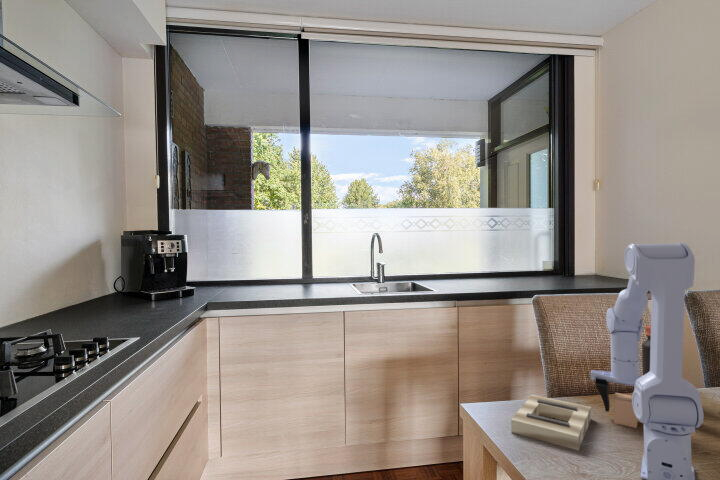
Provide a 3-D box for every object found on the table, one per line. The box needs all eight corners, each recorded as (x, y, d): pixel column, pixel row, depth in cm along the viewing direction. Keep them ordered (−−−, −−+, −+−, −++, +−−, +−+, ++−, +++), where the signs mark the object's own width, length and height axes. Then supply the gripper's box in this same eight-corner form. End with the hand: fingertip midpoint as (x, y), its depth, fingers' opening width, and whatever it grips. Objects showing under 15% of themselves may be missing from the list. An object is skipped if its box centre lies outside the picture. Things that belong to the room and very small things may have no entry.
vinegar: (674, 407, 104) (672, 331, 104) (642, 401, 108) (641, 328, 108) (673, 398, 110) (672, 326, 110) (643, 393, 114) (641, 323, 114)
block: (636, 428, 94) (636, 402, 94) (614, 423, 96) (613, 398, 96) (637, 421, 97) (637, 396, 97) (616, 416, 100) (615, 392, 100)
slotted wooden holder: (578, 450, 85) (578, 434, 85) (511, 432, 93) (511, 417, 93) (591, 418, 99) (591, 404, 99) (532, 405, 107) (531, 392, 107)
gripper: (662, 359, 96) (663, 415, 96) (592, 350, 104) (594, 401, 104) (661, 367, 90) (663, 426, 90) (588, 356, 99) (590, 411, 99)
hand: (625, 414), depth 97 cm, fingers open, 7 cm apart
